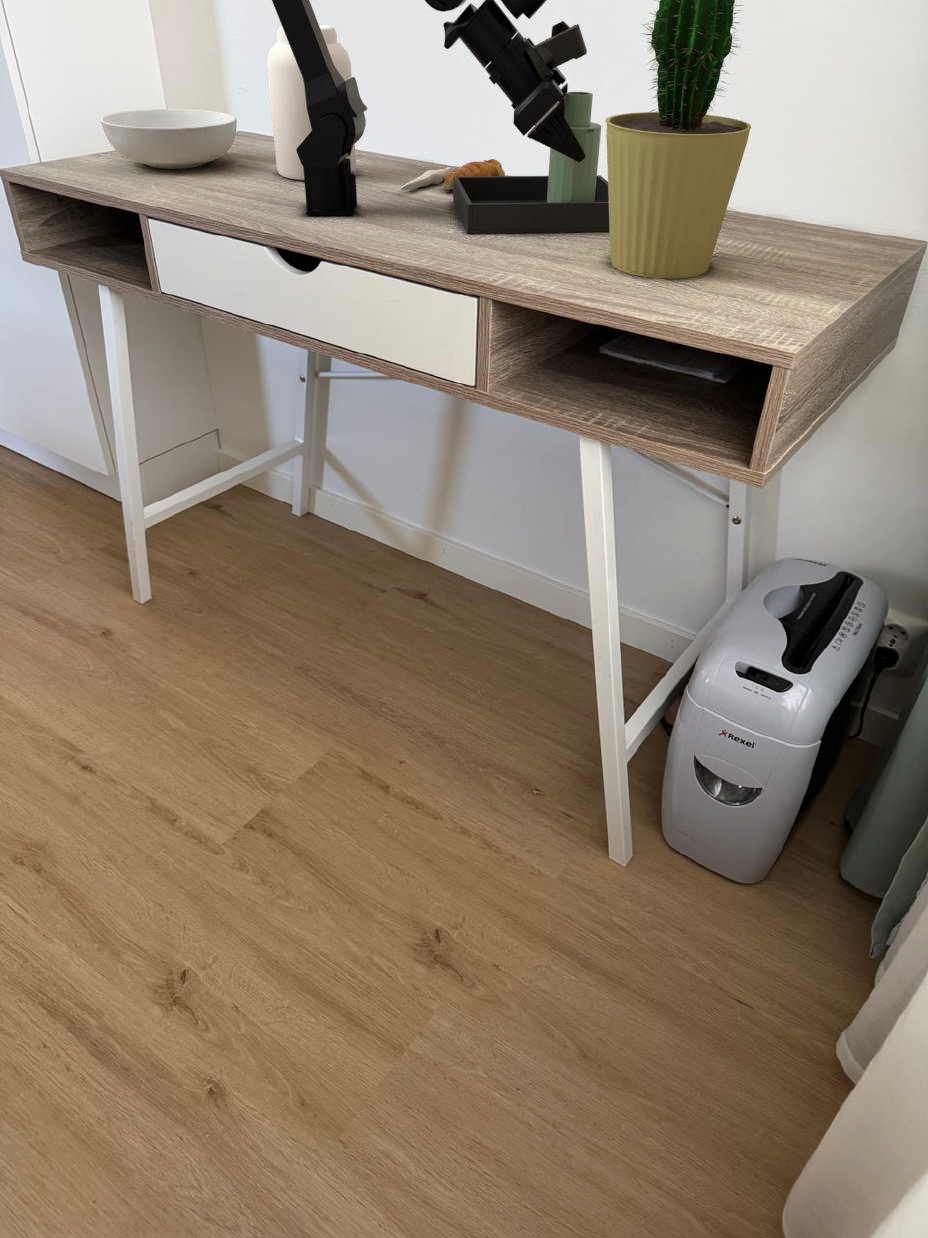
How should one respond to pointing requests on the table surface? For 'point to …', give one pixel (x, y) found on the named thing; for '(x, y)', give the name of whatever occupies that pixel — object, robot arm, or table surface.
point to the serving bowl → (170, 136)
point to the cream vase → (296, 100)
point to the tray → (525, 206)
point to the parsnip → (427, 179)
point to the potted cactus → (676, 149)
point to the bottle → (567, 174)
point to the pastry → (475, 171)
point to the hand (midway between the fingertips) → (583, 152)
